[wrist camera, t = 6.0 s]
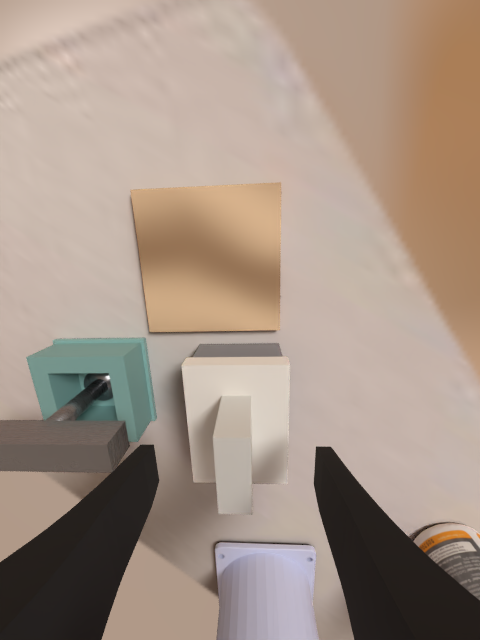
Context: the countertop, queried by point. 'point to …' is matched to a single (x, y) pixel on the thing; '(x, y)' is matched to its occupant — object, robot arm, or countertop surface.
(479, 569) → the pill bottle
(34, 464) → the t key
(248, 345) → the box
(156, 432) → the countertop surface
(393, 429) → the countertop surface
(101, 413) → the key socket
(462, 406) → the countertop surface
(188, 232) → the cork mat
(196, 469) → the cover
